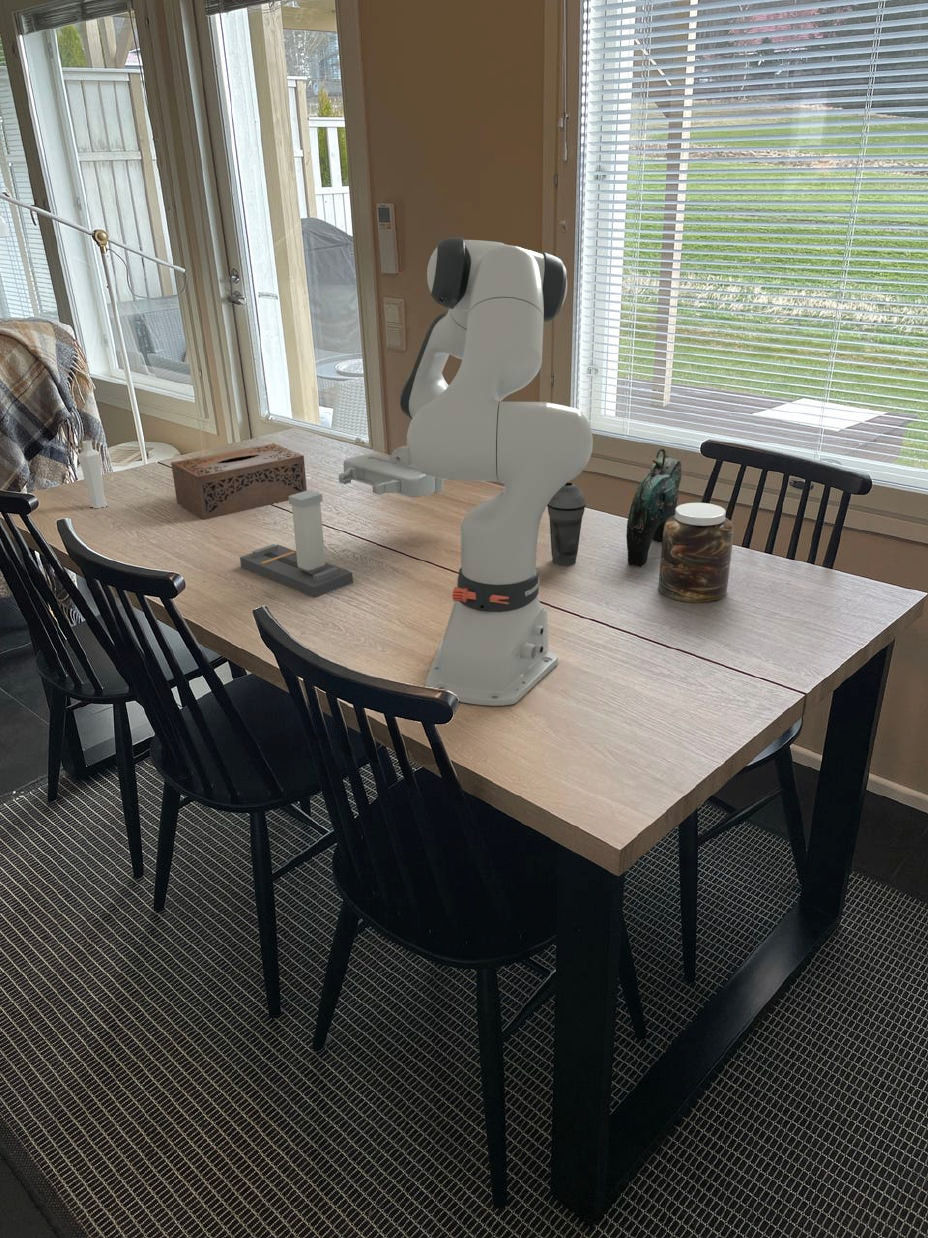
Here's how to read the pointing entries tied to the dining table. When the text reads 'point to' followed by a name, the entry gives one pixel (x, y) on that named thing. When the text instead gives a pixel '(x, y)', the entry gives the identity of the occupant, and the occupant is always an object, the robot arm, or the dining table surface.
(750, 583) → the dining table surface
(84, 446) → the perfume bottle
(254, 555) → the fader console
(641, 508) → the dark green arched sculpture
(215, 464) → the tissue box cover
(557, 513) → the beverage cup
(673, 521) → the jar
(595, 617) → the dining table surface
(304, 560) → the fader tab
